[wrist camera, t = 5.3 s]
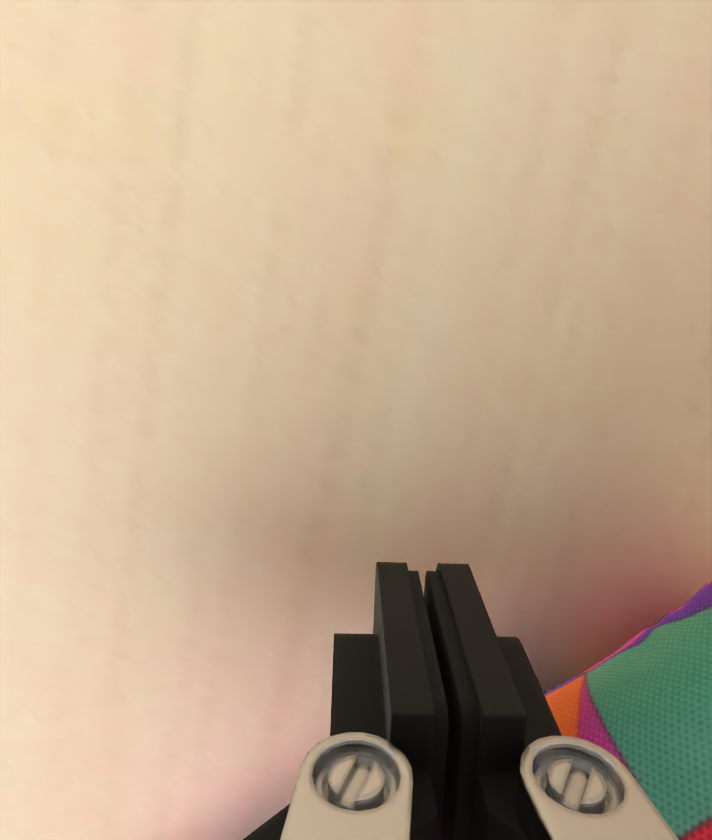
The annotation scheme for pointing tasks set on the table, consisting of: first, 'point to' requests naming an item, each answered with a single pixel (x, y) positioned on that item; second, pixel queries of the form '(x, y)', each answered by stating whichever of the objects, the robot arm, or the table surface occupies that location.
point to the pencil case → (654, 713)
